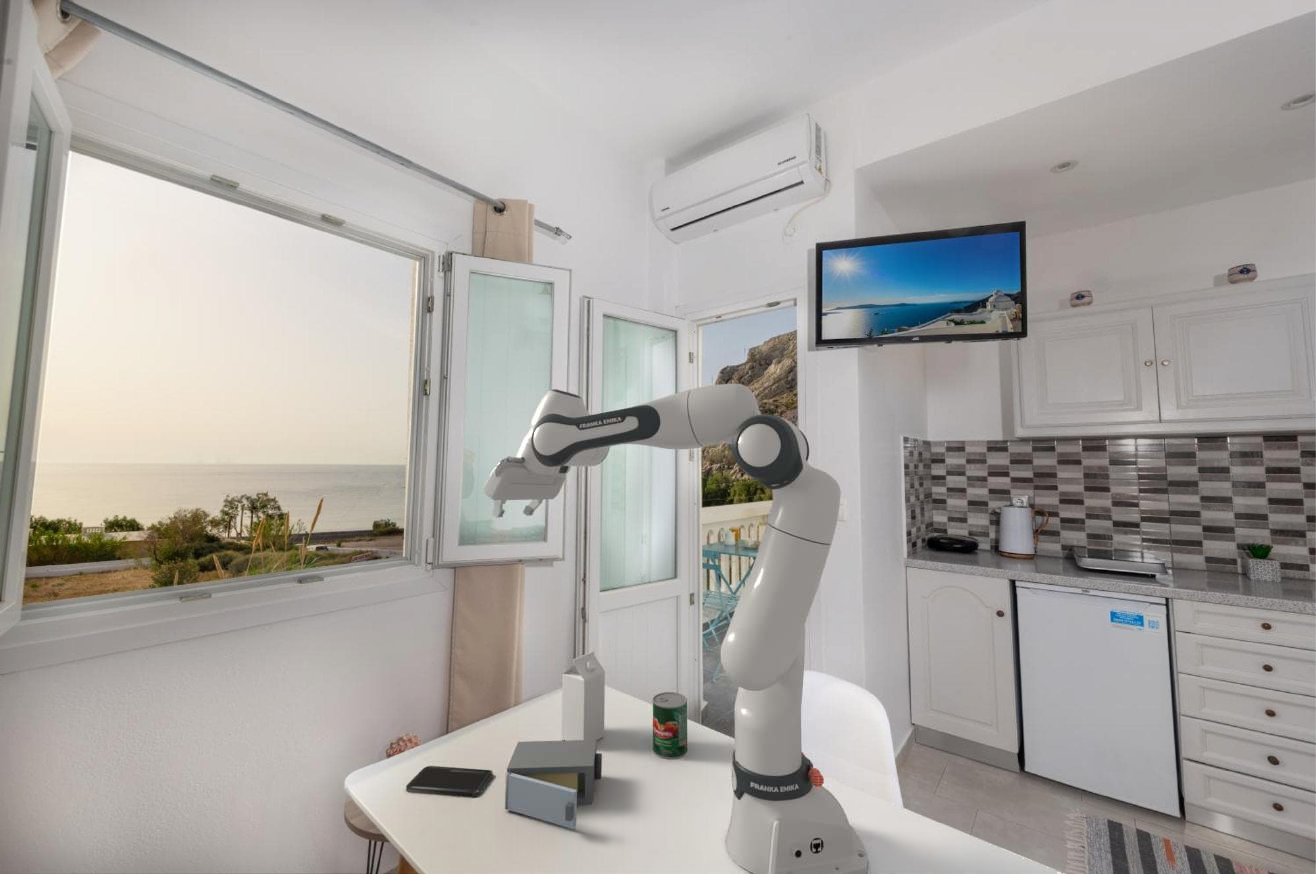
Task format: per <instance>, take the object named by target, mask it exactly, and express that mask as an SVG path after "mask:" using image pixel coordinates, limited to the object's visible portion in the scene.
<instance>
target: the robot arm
mask: <svg viewBox="0 0 1316 874" xmlns="http://www.w3.org/2000/svg"><path fill="white" fill-rule="evenodd" d="M758 403H759V402H758V400H757V398H756V396H755V394H754V393H753V391H752V390H751V389H750V388H749V387H748V386H746V385H744V384H742V383H724V384H722V383H721V384H714V385H706V386H701V387H696V388H692V389H687V390H684V391H681V392H677V393H674V394H670V395H667V396H664V397H661V398H658V399H654V400H651V401H647V402H644V403H640V404H638V405H633V406H631V407H626V408H625V407H624V408H622V409H615V410H612V411H611V410H610V411H606V412H605V411H604V412H599V413H595V414H594V413H593V414H591V413H590V412H589V410H587V408H586V406H585V403H584V400H583V398H582V397H581V396H579V395H577V394H574V393H571V392H567V391H565V390H562V389H561V390H560V389H550V390H549V389H548V391H547V392H546V393H544V395H543V397H542V399H541V400H540V401H539V403H538V406H537V407H536V409H535V411H534V413H533V415H532V418H531V421H530V426H529V429H528V432H527V433H526V434H525V436H524V437H523V439H522V441H521V444H520V445H519V449H518V450H517V453H516V455H515V456H506V457H505V458H503V459H501V460H499V462H497V464H496V465H495V467H494V468H493V469H492V471H491V473H490V475H489V476H488V479H486V482H485V484H484V486H483V493H484V494H485V495H486V496H487V497H488V498H490V499H491V500H493V505H494V508H493V510H492V512H491V514H492V516H493V517H495V518H498V519H499V518H503V517H504V514H505V512H506V510H505V509H504V508H503V507H504V506H503V505H505V504H506V502H507V501H530V500H531V501H530V502H529V504H528V505H525V507H524V509H523V511H522V513H523V515H525V516H529V517H530V516H533V515H534V512H535V511H536V510H537V508H539V506H540V505H542V503H543V501H544V500H554V499H555V498H557V496H558V495H559V493H560V491H561V489H562V488H563V485H564V482H565V480H566V477H567V474H568V473H570V471H571V469H572V467H595V466H598V465H600V464H601V463H602V462H604V461H605V459H606V457H607V456H608V454H609V452H610V447H612V446H619V445H620V446H621V445H639V446H645V447H646V446H649V447H654V448H659V449H664V450H665V449H666V450H693V449H700V448H704V447H711V446H715V445H720V444H730V445H731V453H732V457H733V459H734V461H735V463H736V465H737V466H738V467H739V468H740V469H741V471H743V472H744V473H745V474H746V475H747V476H749V477H750V478H752V479H753V480H755V481H756V482H758V483H759V484H761V485H762V486H763V487H765V488H767V489H768V490H772V503H771V507H770V510H769V514H768V517H767V521H766V524H765V527H764V530H763V533H762V537H761V539H760V543H759V547H758V550H757V553H756V557H755V560H754V563H753V566H752V568H751V571H750V574H749V576H748V578H747V580H746V582H745V585H744V587H743V589H742V592H741V594H740V597H739V599H738V602H737V605H736V608H735V609H734V613H733V615H732V617H731V620H730V623H729V626H728V628H727V630H726V633H725V636H724V638H723V641H722V644H721V647H720V661H721V666H722V668H723V670H724V672H725V674H726V676H727V677H728V678H729V679H730V680H731V682H733V684H735V685H736V686H738V688H737V694H736V698H735V702H734V707H733V708H734V750H733V752H732V757H731V758H732V761H731V787H732V791H733V799H732V807H731V812H730V813H731V814H730V819H729V824H728V828H727V832H726V835H725V846H726V849H727V852H728V854H729V855H730V856H731V858H732V859H733V860H734V861H735V862H736V863H737V864H738V865H739V866H740V867H742V868H743V869H744V870H746V871H747V872H749V873H751V874H868V873H869V872H868V871H869V858H868V854H867V850H866V847H865V846H864V844H863V841H862V839H861V838H860V837H859V835H858V833H857V832H856V831H855V829H854V828H853V827H852V826H851V824H850V822H849V820H848V817H847V814H846V812H845V810H844V808H843V807H842V805H841V803H840V802H839V800H838V799H837V798H836V797H835V795H834V794H833V793H832V792H831V791H829V790H828V789H827V788H826V787H824V786H823V785H824V783H825V782H824V781H825V779H824V776H823V775H822V773H821V771H820V770H819V769H818V768H814V764H813V763H812V761H811V760H810V759H809V758H808V757H807V756H806V755H805V754H804V752H803V751H802V701H803V700H802V699H803V688H804V676H805V675H804V673H805V654H806V653H805V652H806V649H805V648H806V625H805V624H806V622H807V619H808V617H809V613H810V611H811V608H812V604H813V603H814V601H815V596H816V594H817V591H818V589H819V586H820V583H821V580H822V576H823V573H824V570H825V567H826V562H827V559H828V556H829V553H830V549H831V547H832V543H833V541H834V536H835V532H836V528H837V525H838V519H839V512H840V506H841V505H840V504H841V488H840V485H839V483H838V482H837V480H836V479H835V478H834V477H833V476H831V475H830V474H828V472H825V471H823V470H820V469H818V468H815V467H813V466H811V465H810V464H809V462H808V460H809V456H810V445H809V442H808V439H807V437H806V435H805V434H804V432H802V430H800V429H799V428H798V427H797V425H795V424H794V423H793V422H792V421H790V420H788V419H786V418H783V417H780V416H776V415H773V414H770V413H769V414H768V413H766V414H765V413H763V414H762V413H761V411H760V408H759V404H758Z"/></svg>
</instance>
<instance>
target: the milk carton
mask: <svg viewBox="0 0 1316 874" xmlns="http://www.w3.org/2000/svg"><path fill="white" fill-rule="evenodd" d="M572 660H573V663H572V665H571V666H569V667H568V668H567V670H565V671H564V672H563V673H562V693H561V740H562V739H563V740H562V741H564V740H565V741H566V740H597V741H599V740H601V737H602V738H604V736H605V698H606V697H605V696H606V695H605V692H606V691H605V690H606V688H605V685H606V683H605V682H606V681H605V680H606V679H605V678H606V673H605V672H606V671H605V669H604V668H603V666H602V665H601V663H600V662H599V660H598V659H597V657H596V656H595V651H594V650H592V651H590V652H588V653H586V654H583V655H580V656H578V657H576V658H574V659H572ZM598 739H599V740H598Z"/></svg>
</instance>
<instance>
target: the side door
mask: <svg viewBox="0 0 1316 874" xmlns="http://www.w3.org/2000/svg"><path fill="white" fill-rule="evenodd" d="M504 791H505V792H504V793H505V795H504V796H505V797H504V799H505V800H504V803H505V804H504V809H505V810H507V811H511V812H514V813H518V814H522V815H525V816H529V817H532V818H536V819H538V820H542V821H545V822H549V823H553V824H554V825H559V826H562V827H565V828H567V829H568V828H569V829H572V830H575V829H576V827H577V817H578V816H577V813H578V812H577V808H578V807H577V790H575V789H571V788H567V787H563V786H559V785H556V784H552V783H548V782H544V781H540V780H537V779H533V778H529V777H525V776H522V775H518V774H514V773H511V772H507V771H506V773H505V790H504Z"/></svg>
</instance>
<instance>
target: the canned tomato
mask: <svg viewBox="0 0 1316 874" xmlns="http://www.w3.org/2000/svg"><path fill="white" fill-rule="evenodd" d="M688 749H689V748H688V698H687V696H685V695H684V694H681V693H679V692H671V691H667V692H665V691H664V692H660V693H657V694H655V695H654V696H653V697H652V752H653V754H654V753H655V754H654V755H655V756H657V757H659V758H661V759H663V760H665V759H666V760H677V758H678V759H681V758H683V757H685V755H687V753H688ZM680 757H681V758H680Z"/></svg>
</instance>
